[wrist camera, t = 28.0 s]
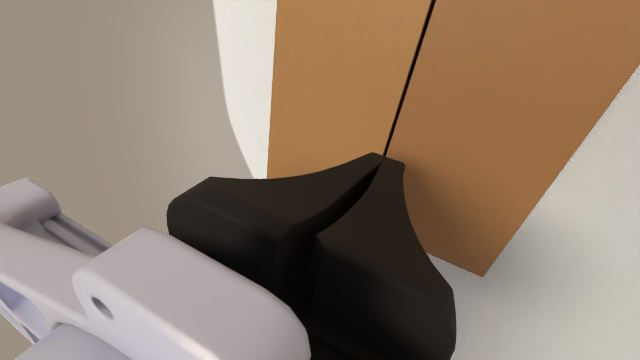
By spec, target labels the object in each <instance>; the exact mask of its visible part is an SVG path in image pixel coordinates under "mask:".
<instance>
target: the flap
mask: <svg viewBox="0 0 640 360" xmlns="http://www.w3.org/2000/svg"><path fill="white" fill-rule="evenodd" d="M432 1H433V0H277V14H276V31H275V48H274V65H273V82H272V99H271V116H270V132H269V149H268V166H267V179H272V178H283V177H292V176H299V175H305V174H310V173H314V172H318V171H322V170H325V169H328V168H332V167H335V166H338V165H341V164H344V163H346V162H349V161H351V160H354V159H356V158H359V157H361V156H363V155H366V154H368V153H371V152H375V153H377V154H380V155H383V156H384V152H385V149H386V146H387V143H388V140H389V137H390V134H391V130H392V127H393V124H394V121H395V118H396V115H397V111H398V108H399V105H400V102H401V99H402V96H403V92H404V89H405V86H406V83H407V80H408V77H409V73H410V70H411V67H412V64H413V61H414V58H415V54H416V51H417V48H418V45H419V42H420V39H421V35H422V32H423V29H424V26H425V23H426V20H427V16H428V13H429V10H430V7H431V4H432Z"/></svg>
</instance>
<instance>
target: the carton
mask: <svg viewBox="0 0 640 360" xmlns="http://www.w3.org/2000/svg"><path fill="white" fill-rule="evenodd" d="M639 64H640V0H433V1H432V4H431V7H430V10H429V13H428V16H427V20H426V23H425V26H424V29H423V32H422V35H421V39H420V42H419V45H418V48H417V51H416V54H415V58H414V61H413V64H412V67H411V70H410V73H409V77H408V80H407V83H406V86H405V89H404V92H403V96H402V99H401V102H400V105H399V108H398V111H397V115H396V118H395V121H394V124H393V127H392V130H391V134H390V137H389V140H388V143H387V146H386V149H385V152H384V156H386V157H389V158H391V159H394V160H397V161H400V162H403V163H404V164H405V166H406V167H405V170H404V174H403V185H404V195H405V201H406V206H407V210H408V214H409V217H410V220H411V223H412V226H413V228H414V231H415V233H416V235H417V237H418V239H419V241H420V243H421V245H422V247H423V249H424V251H425V252H427V253H429V254H431V255H433V256H436V257H438V258H440V259H442V260H445V261H447V262H449V263H451V264H454V265H456V266H458V267H460V268H463V269H465V270H467V271H469V272H472V273H474V274H476V275H478V276H481V277H483V276H484V275H485V273H486V272H487V271H488V269H489V268H490V267H491V265H492V264H493V262H494V261H495V260H496V258H497V257H498V256H499V254H500V253H501V252H502V250H503V249H504V247H505V246H506V245H507V243H508V242H509V241H510V239H511V238H512V237H513V235H514V234H515V233H516V231H517V230H518V228H519V227H520V226H521V224H522V223H523V222H524V220H525V219H526V218H527V216H528V215H529V214H530V212H531V211H532V209H533V208H534V207H535V205H536V204H537V203H538V201H539V200H540V199H541V197H542V196H543V195H544V193H545V192H546V190H547V189H548V188H549V186H550V185H551V184H552V182H553V181H554V180H555V178H556V177H557V176H558V174H559V173H560V171H561V170H562V169H563V167H564V166H565V165H566V163H567V162H568V161H569V159H570V158H571V157H572V155H573V154H574V152H575V151H576V150H577V148H578V147H579V146H580V144H581V143H582V142H583V140H584V139H585V138H586V136H587V135H588V133H589V132H590V131H591V129H592V128H593V127H594V125H595V124H596V123H597V121H598V120H599V119H600V117H601V116H602V114H603V113H604V112H605V110H606V109H607V108H608V106H609V105H610V104H611V102H612V101H613V100H614V98H615V97H616V95H617V94H618V93H619V91H620V90H621V89H622V87H623V86H624V85H625V83H626V82H627V81H628V79H629V78H630V76H631V75H632V74H633V72H634V71H635V70H636V68H637V67H638V66H639Z"/></svg>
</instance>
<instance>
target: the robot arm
mask: <svg viewBox="0 0 640 360" xmlns="http://www.w3.org/2000/svg"><path fill="white" fill-rule="evenodd" d="M405 167H406V166H405V164H404V163H403V162H400V161H397V160H394V159H391V158H389V157H386V156H383V155H380V154H377V153H375V152H371V153H368V154H366V155H363V156H361V157H359V158H356V159H354V160H351V161H349V162H346V163H344V164H341V165H338V166H335V167H332V168H328V169H325V170H322V171H318V172H314V173H310V174H305V175H299V176H292V177H283V178H272V179H235V178H221V177H209V178H207V179H205V180H204V181H202V182H200V183H199V184H197V185H196V186H194V187H192V188H191V189H189V190H187V191H186V192H184V193H183V194H181V195H179V196H178V197H176V198H175V199H173V200H172V202H171V203H170V204H169V206H168V210H167V226H168V230H169V234H168V233H164V232H161V231H158V230H155V229H152V228H147V227H142V228H141V229H139V230H137V231H136V232H134V233H133V234H131V235H129V236H128V237H126V238H125V239H123V240H122V241H120V242H118V243H117V244H116V245H112V244H111V243H109V242H107V241H106V240H104V239H102V238H101V237H99V236H98V235H96V234H94V233H93V232H91V231H90V230H88V229H86V228H85V227H83V226H82V225H80V224H79V223H77V222H75V221H74V220H72V219H71V218H69V217H67V216H66V215H64V214H63V213H61V208H60V205H59V203H58V201H57V199H56V197H55V196H54V195H53V194H52V193H51V192H50V191H49V190H48V189H46V188H45V187H43V186H41V185H40V184H38V183H37V182H35V181H33V180H32V179H30V178H23V179H20V180H18V181H15V182H12V183H10V184H7V185H4V186H2V187H0V314H1V315H3V316H4V317H5V318H6V319H7V320H8V321H9V322H10V323H11V324H12V325H13V326H14V327H15V328H16V329H17V330H19V331H20V332H21V333H22V334H23V335H24V336H25V337H26V338H27V339H28V340H29V341H30V342H31V343H32V344H33V346H31V347H30V348H29V349H27V350H26V351H25V352H23V353H22V354H21V355H19V356H18V357H17V358H16V359H14V360H450V359H451V357H452V354H453V352H454V350H455V344H456V312H455V303H454V295H453V290H452V288H451V286H450V285H449V284H448V283H447V281H446V280H445V279H444V277H443V276H442V275H441V274H440V272H439V271H438V270H437V269H436V267H435V266H434V265H433V263H432V262H431V260H430V259H429V257H428V256H427V254H426V252H425V251H424V249H423V247H422V245H421V243H420V241H419V239H418V237H417V235H416V233H415V231H414V228H413V226H412V223H411V220H410V217H409V214H408V210H407V206H406V201H405V195H404V185H403V174H404V170H405Z"/></svg>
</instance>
